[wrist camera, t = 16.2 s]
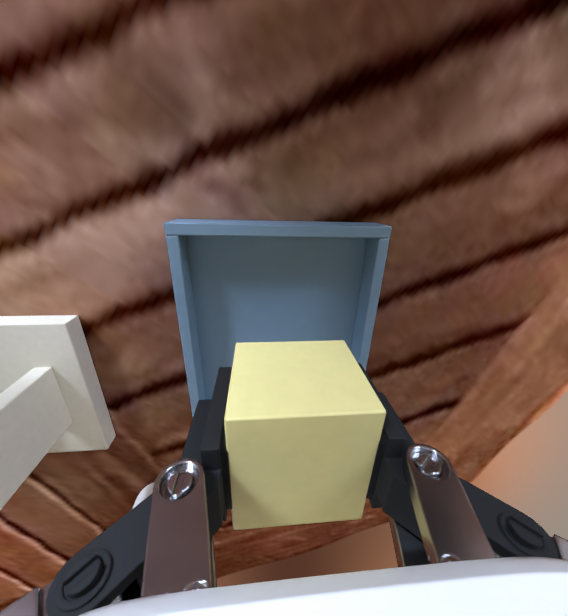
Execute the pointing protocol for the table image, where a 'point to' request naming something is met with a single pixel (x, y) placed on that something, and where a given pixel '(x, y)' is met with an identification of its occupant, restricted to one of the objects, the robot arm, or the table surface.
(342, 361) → the butter
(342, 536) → the table surface
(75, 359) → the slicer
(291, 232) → the dish
